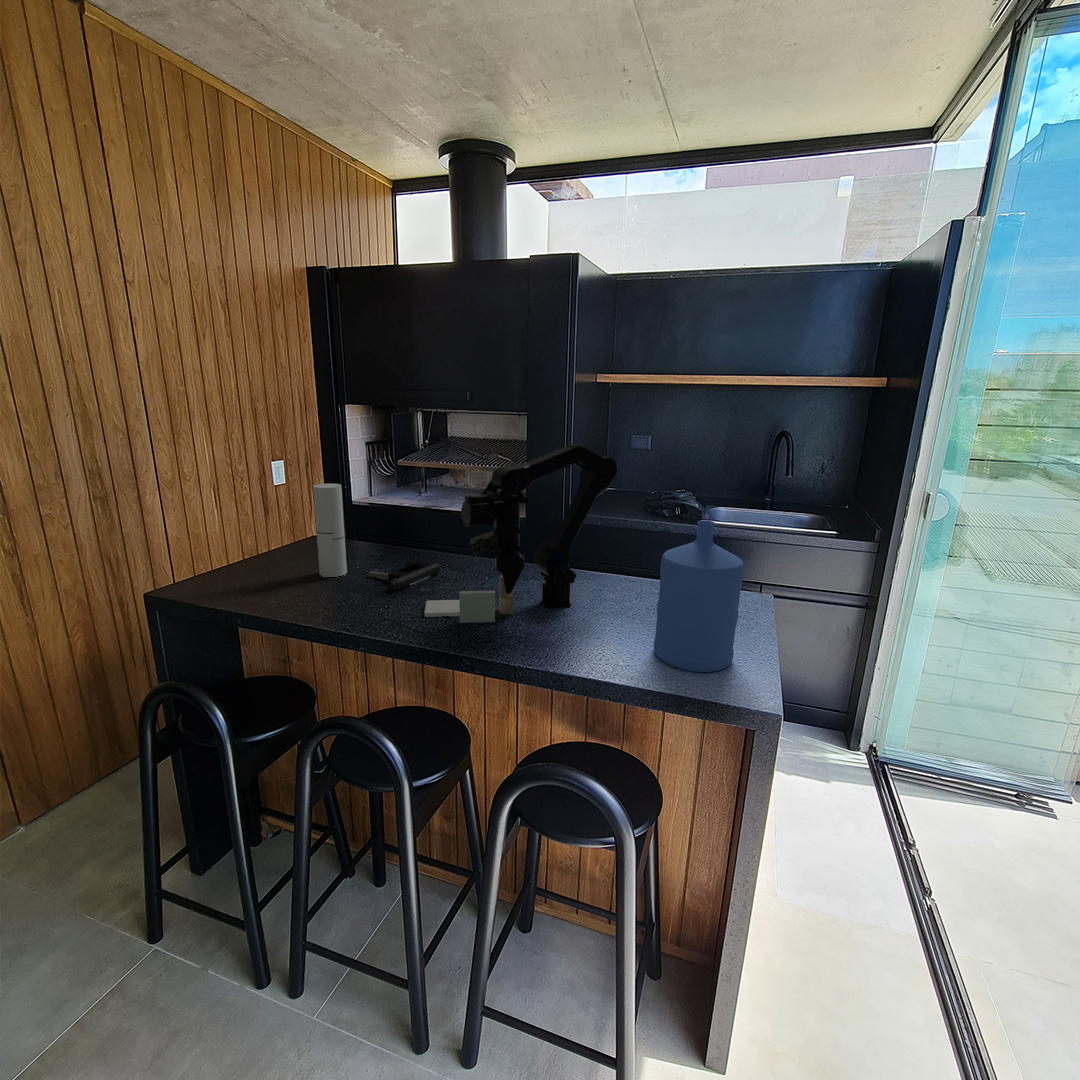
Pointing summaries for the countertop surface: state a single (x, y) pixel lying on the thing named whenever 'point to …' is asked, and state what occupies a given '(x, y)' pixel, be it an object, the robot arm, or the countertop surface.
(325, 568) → the cylindrical container
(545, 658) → the countertop surface
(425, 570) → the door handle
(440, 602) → the grey flat plate
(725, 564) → the water jug
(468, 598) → the tile
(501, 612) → the stick
